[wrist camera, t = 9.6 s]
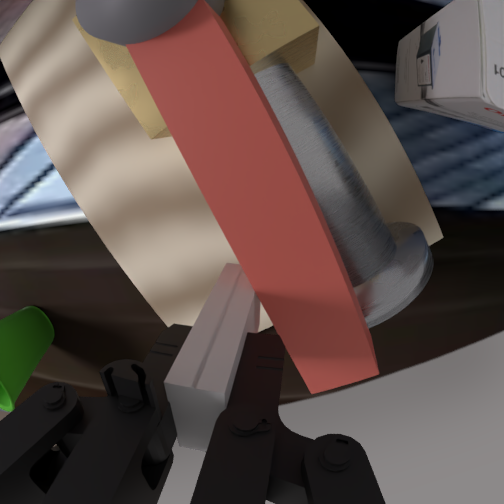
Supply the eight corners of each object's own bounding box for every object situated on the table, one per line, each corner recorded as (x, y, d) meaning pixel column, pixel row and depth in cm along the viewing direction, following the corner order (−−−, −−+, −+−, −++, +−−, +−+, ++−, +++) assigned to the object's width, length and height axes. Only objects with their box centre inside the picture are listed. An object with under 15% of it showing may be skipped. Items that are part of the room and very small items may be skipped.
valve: (83, -37, 15) (20, -64, 7) (159, -96, 12) (113, -142, 5) (307, 281, 22) (304, 357, 15) (409, 226, 20) (456, 282, 12)
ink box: (499, 73, 15) (610, 62, 4) (496, 137, 17) (611, 165, 6) (395, 40, 16) (473, -27, 5) (392, 110, 18) (481, 100, 7)
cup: (66, 311, 29) (1, 374, 19) (69, 365, 33) (20, 425, 23) (12, 277, 30) (-53, 324, 20) (19, 332, 33) (-32, 380, 23)
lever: (109, 3, 9) (63, -16, 6) (198, -53, 8) (168, -91, 5) (296, 359, 14) (292, 412, 11) (387, 330, 13) (402, 380, 10)
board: (5, 50, 19) (-3, 49, 18) (174, -109, 12) (169, -115, 11) (199, 350, 28) (195, 358, 27) (437, 231, 20) (443, 237, 19)
